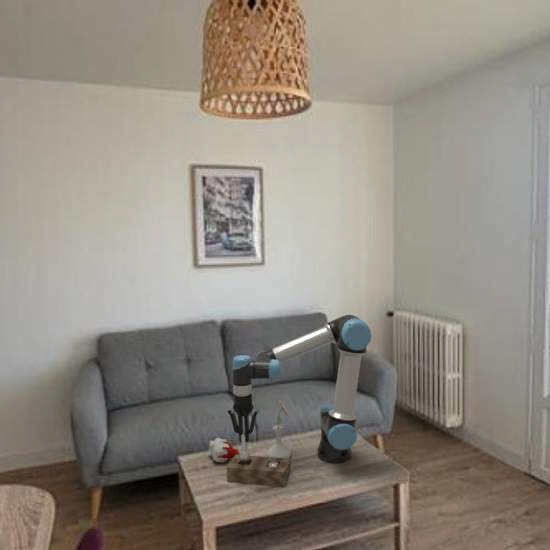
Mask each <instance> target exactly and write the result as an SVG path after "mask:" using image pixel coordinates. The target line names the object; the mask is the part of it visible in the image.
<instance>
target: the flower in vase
mask: <svg viewBox="0 0 550 550" xmlns="http://www.w3.org/2000/svg"><path fill="white" fill-rule="evenodd" d="M278 404H279V406H280V411H279V413H278V416H277V422H276V423H275V424H276V425H274V426H272V430H274V433H275V439H276V440H275V443H274V445H272V446H271V447H270V448H268V449H267V451H266V457H275V458H288V459H290V457H292V455H293V452H292V449H290V448H289V447H288V446H287V445H285V444H284V443H283V442H282V434H283V430H284V429H285V427H284V425H280V423H281V421H282V419H281V417H280V414H281V412H283V413H284V414H285V416H287V417H289V412H288V411H287V409H286V406H284V403H283V402H282V401H281V400H278Z"/></svg>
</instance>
